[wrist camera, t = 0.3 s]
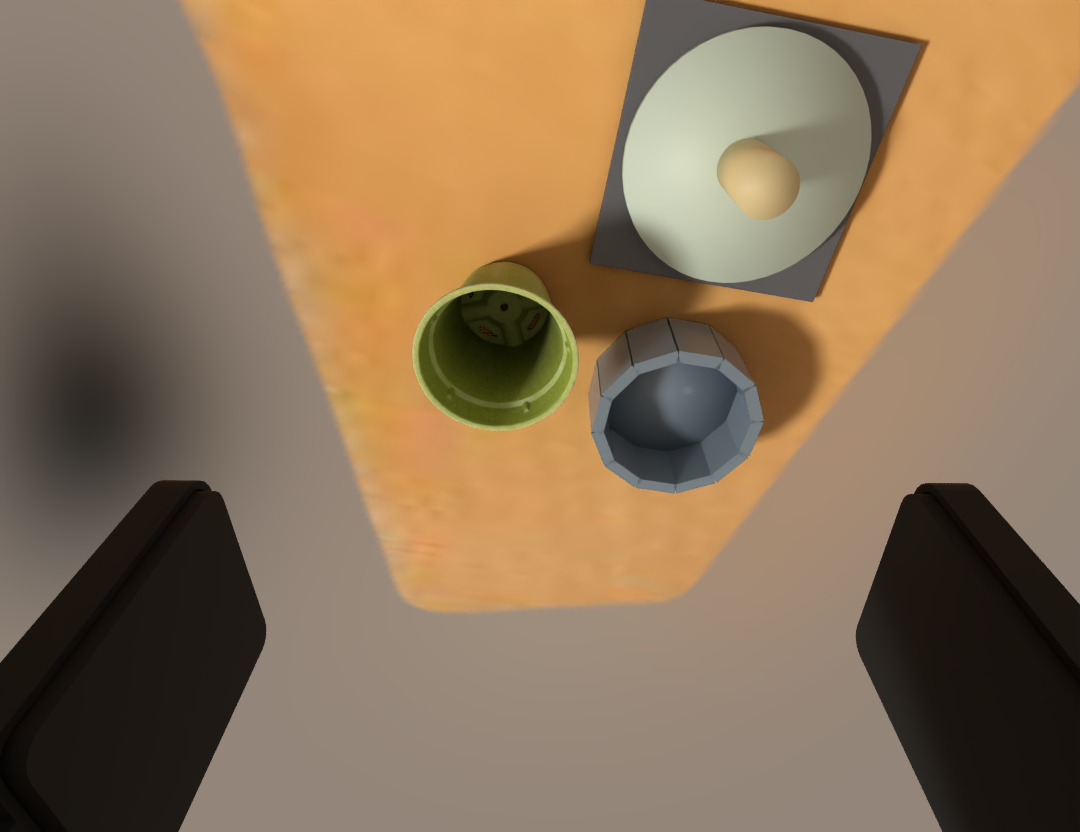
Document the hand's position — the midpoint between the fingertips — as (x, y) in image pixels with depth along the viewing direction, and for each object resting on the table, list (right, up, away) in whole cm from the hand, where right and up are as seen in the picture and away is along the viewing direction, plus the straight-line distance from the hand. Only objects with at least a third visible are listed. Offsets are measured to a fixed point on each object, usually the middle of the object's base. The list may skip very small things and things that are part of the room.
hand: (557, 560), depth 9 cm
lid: (+12, +17, +29) cm, 36 cm away
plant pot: (-3, +10, +35) cm, 37 cm away
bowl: (+9, +4, +38) cm, 40 cm away
